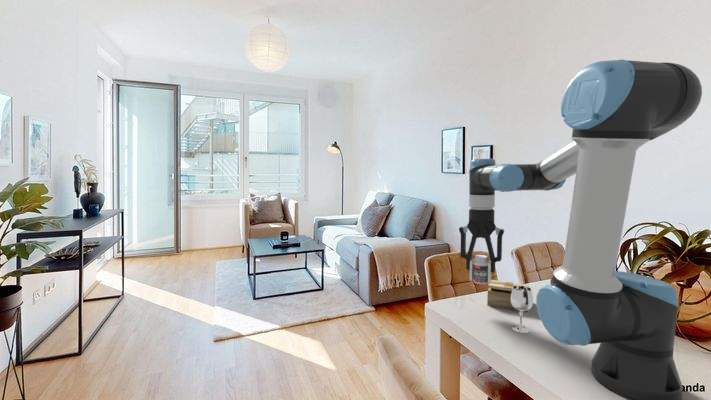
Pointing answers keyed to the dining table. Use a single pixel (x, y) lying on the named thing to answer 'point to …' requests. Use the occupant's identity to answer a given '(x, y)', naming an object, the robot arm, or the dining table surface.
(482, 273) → the pill bottle
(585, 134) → the robot arm
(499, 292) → the crate
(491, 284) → the lid
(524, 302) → the wineglass
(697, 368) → the dining table surface
